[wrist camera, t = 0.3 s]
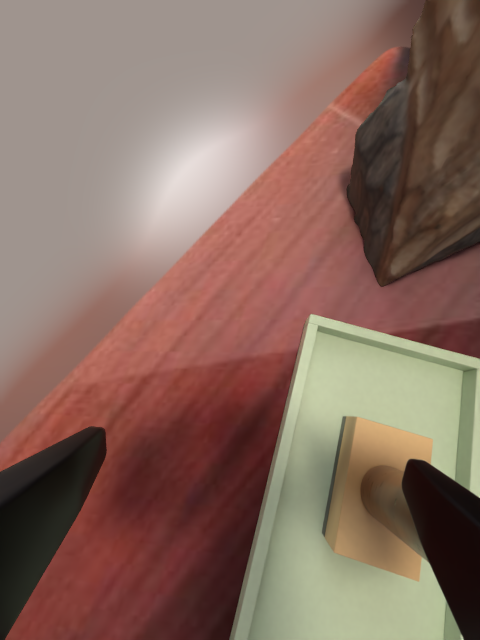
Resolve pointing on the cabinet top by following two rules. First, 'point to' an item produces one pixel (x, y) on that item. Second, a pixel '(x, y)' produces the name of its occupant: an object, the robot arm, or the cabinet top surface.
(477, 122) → the jagged stone chunk
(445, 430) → the tray
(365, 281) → the cabinet top surface
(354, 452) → the rubber stamp
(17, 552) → the robot arm
